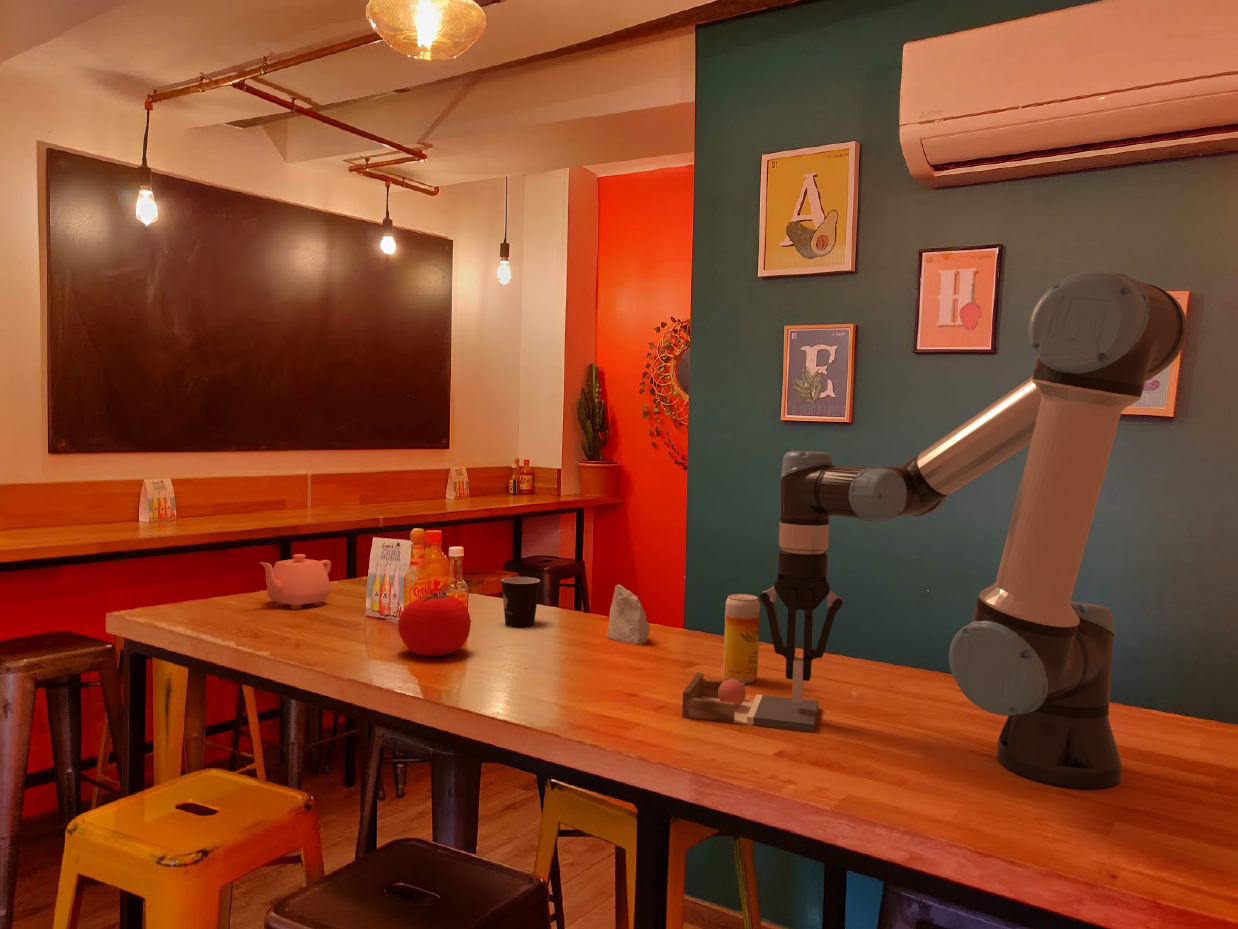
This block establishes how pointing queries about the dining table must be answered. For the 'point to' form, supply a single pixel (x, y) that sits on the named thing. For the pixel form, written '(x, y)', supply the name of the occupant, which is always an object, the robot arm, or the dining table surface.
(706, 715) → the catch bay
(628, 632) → the stone
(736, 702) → the ball
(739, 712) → the lane mat
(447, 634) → the tomato
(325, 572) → the teapot
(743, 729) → the dining table surface
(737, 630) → the beer can
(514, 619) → the coffee mug
